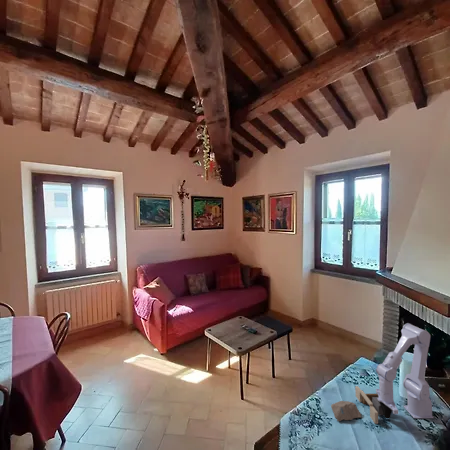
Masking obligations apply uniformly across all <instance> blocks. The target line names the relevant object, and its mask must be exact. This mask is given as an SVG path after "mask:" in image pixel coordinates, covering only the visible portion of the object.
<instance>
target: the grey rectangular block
mask: <svg viewBox="0 0 450 450" xmlns="http://www.w3.org/2000/svg"><path fill="white" fill-rule="evenodd" d="M377 398H379V397H372V403H373V407H374V408H375V409H376V411H377V412H378V416H384V415H383V411H382V408H381V405H380V403H379V401H378V399H377Z"/></svg>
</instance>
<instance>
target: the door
mask: <svg viewBox="0 0 450 450" xmlns="http://www.w3.org/2000/svg"><path fill="white" fill-rule="evenodd" d="M365 394H366V396H367V397H368V398H369V400H370V401H371V402H372V397H379V396H378V394H377V393H365ZM361 403H362V404H363V405H369V404H368V403H367V401H366V400H365V399H364V397H363V396H362V402H361Z"/></svg>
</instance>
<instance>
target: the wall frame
mask: <svg viewBox="0 0 450 450" xmlns="http://www.w3.org/2000/svg"><path fill="white" fill-rule="evenodd" d="M354 390H355V397H356V398H357V400H358V402H359V403H362V396H363V397H364V399H365V400H366V401H367V403H368V404H367V405H369V417H370V419H371V420H372V422H373V423H374V424H375V425H377V424H379V415H378V412H377V411H376V409H375V408H374V407H373V403H372V402H371V401H370V400H369V398H368V397H367V396H366V394H367V393H366V392H364V391H363V390H361V388H360V387H359V386H358V385H357V386H355V389H354Z"/></svg>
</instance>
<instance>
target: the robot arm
mask: <svg viewBox="0 0 450 450" xmlns="http://www.w3.org/2000/svg"><path fill="white" fill-rule="evenodd" d="M400 332H401V337H400V338H399V340H398V343H397V344H396V347H395V348H394V349H393V351H390V352H388V354H387V356H386V357H385V359H384V360H383V362H382V363H379V364H378V365H377V366H376V369H375V371H376V373H377V377H378V381H379V382H378V384H379V385H378V386H379V388H375V394H378V396H379V398H377V399H378V401H379V403H380V405H381V408H382V411H383V415H382V416H383V417H384V418H385V419H390V418H391V415H392V414H393V415H399V409H398V408H397V406H396V402H395V401H394V380H395V379H396V378H397V373H398V371H397V370H398V368H399V367H400V365H401V364H402V362H403V358H402V356H403V355H405V353H406V352H407V350H408V349H409V348H410V346H411V345H414V348H413V355H412V363H411V370H410V373H407V374H405V378H404V379H403V381H402V382H403V383H402V385H403V388H404V389H405V391H406V394H407V405H403V408H404V409H405V410H406V411H407V412H408V413H409V414H410V415H411V416H412V418H414V419H434V416H433V404H432V400H431V399H430V396H431V392H430V385H429V383H428V382H427V381H426V379H425V374H426V367H427V360H428V353H429V347H430V344H431V343H430V342H431V334H430V332H428V330H425V329H422V328H419V327H418V326H417V325H416V326H415V325H413V324H412V323H409V322H407V323H405V324H404V325H402V329H401V330H400Z"/></svg>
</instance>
